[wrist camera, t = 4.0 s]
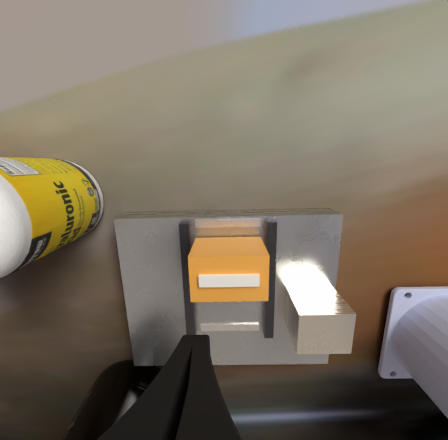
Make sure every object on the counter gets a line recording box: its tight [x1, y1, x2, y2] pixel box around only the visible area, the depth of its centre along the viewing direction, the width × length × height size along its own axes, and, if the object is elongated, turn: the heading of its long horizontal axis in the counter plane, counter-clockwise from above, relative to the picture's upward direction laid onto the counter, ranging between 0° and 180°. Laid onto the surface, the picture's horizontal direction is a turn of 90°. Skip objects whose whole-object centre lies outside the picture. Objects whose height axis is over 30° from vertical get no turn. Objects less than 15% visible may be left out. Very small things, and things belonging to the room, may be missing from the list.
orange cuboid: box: [188, 237, 270, 302], centre depth 13 cm, size 4×2×3 cm, turn 91°
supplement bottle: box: [0, 157, 104, 278], centre depth 11 cm, size 5×5×10 cm
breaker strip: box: [114, 208, 356, 366], centre depth 15 cm, size 14×11×5 cm
